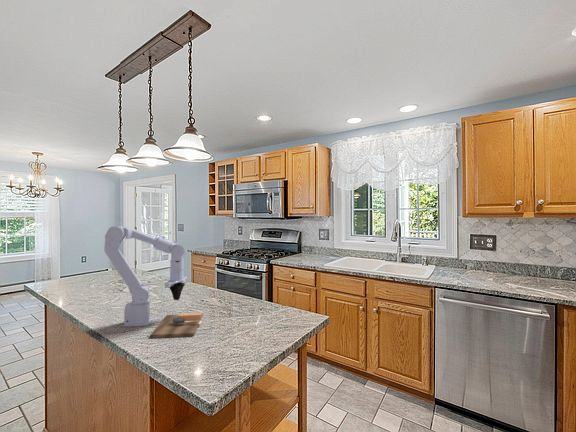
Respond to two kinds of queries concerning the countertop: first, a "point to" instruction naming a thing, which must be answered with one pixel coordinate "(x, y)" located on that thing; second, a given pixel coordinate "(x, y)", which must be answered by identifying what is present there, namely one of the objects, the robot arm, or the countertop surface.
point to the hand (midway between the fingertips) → (176, 299)
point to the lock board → (175, 328)
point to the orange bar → (187, 317)
